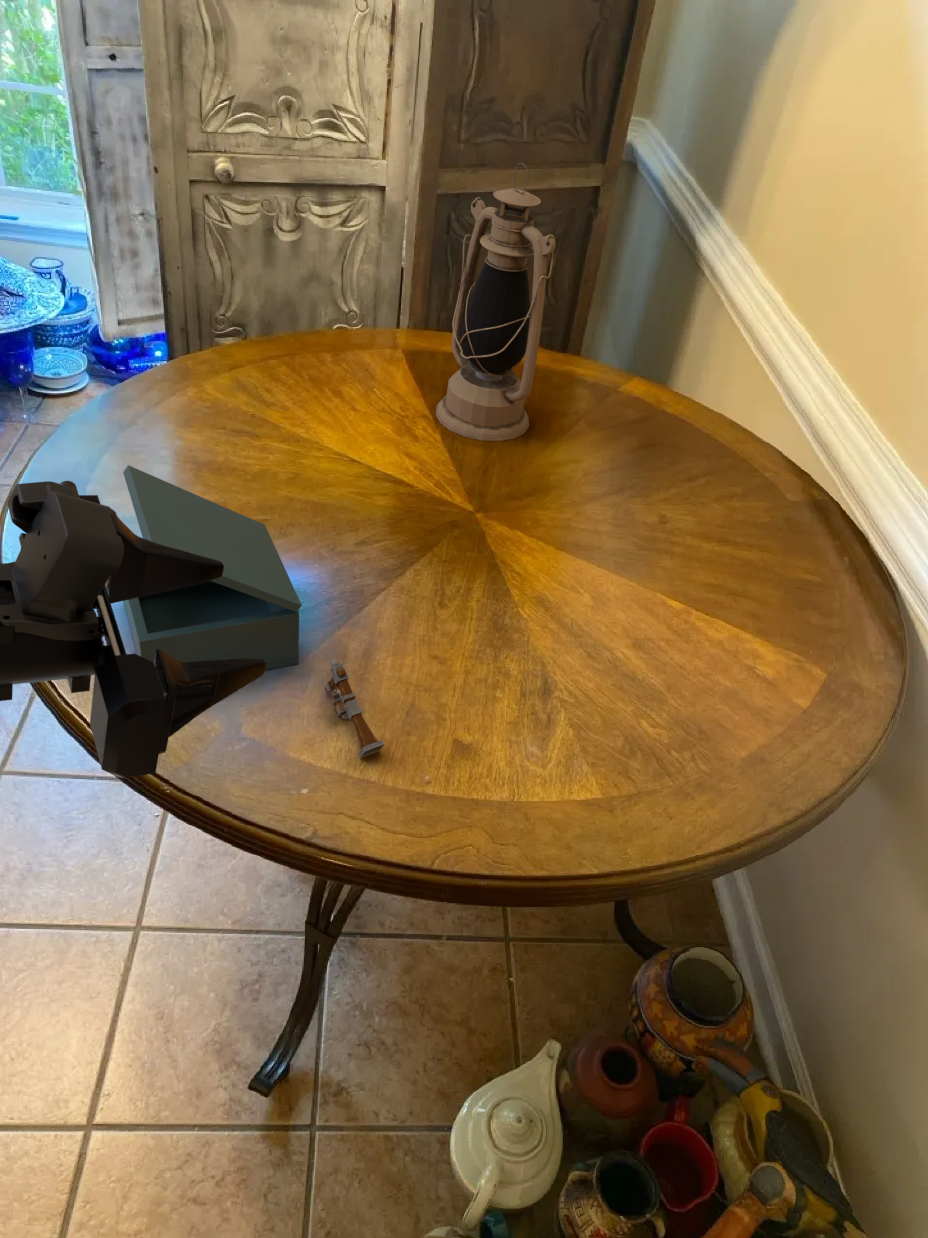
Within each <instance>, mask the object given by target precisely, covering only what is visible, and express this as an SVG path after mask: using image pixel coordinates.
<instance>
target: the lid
mask: <svg viewBox="0 0 928 1238" xmlns="http://www.w3.org/2000/svg"><path fill="white" fill-rule="evenodd" d="M123 477H124V481H125V483H126V486H127V490H128V493H129V496H130V500H131V503H132V507H133V510H134V513H135V516H136V520H137V524H138V527H139V530H140V533H141V538H144V539H146V540H149V541H152V542H155V543H158V544H161V545H164V546H168V547H171V548H175V549H179V550H182V551H186V552H189V553H193V554H197V555H200V556H204V557H207V558H211V559H215V560H218V561H221V562H222V563H223V565H224V570H223V575H222V576H221V577H220V578H216V579H213V580H210V581H212V582H215V583H218V584H221V585H223V586H226V587H229V588H232V589H234V590H237V591H240V592H243V593H245V594H248V595H251V596H253V597H256V598H259V599H262V600H264V601H267V602H270V603H273V604H275V605H278V606H281V607H284V608H286V609H289V610H292V611H294V612H297V611H298V612H299V610H300V609H301V607H303V605H302V602H301V601H300V598H299V596H298V594H297V592H296V589H295V587H294V584H293V583H292V580H291V578H290V576H289V574H288V571H287V569H286V568H285V566H284V563H283V561H282V558H281V557H280V555H279V553H278V550H277V548H276V546H275V544H274V541H273V539H272V537H271V535H270V533H269V530H268V528H267V526H266V525H265V524H264V523H262V522H259V521H257V520H255V519H253V518H250V517H249V516H246V515H244V514H241V513H239V512H237V511H234V510H232V509H230V508H228V507H226V506H223V505H221V504H219V503H216V502H213V501H212V500H209V499H207V498H205V497H202V496H200V495H198V494H196V493H193V492H191V491H188V490H186V489H184V488H182V487H180V486H177V485H175V484H172V483H170V482H168V481H166V480H164V479H161V478H159V477H156V476H154V475H153V474H149V473H148V472H145V471H143V470H141V469H138V468H136V467H133V466H131V465H129V464H127V466H126V467H125V468H124V470H123Z"/></svg>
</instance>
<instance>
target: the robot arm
mask: <svg viewBox="0 0 928 1238" xmlns="http://www.w3.org/2000/svg"><path fill="white" fill-rule="evenodd" d="M7 507H8V512H9V516H10V520H11V522H12V524H13V525H14V526H16V527H17V528H18V529H20V530H21V531H22V532H21V533H20V535H19V536H18V540H19V544H20V550H19V553H18V555H17V557H16V558H15V560H14V561H11V562H4V563H1V562H0V702H5V701H12V700H13V688H14V687H13V686H14V685H21V684H22V685H23V684H31V683H40V682H41V683H43V682H50V681H59V680H67V683H68V686H69V691H70V693H71V694H76V693H85V692H90V689H91V681H92V676H94V677H93V678H94V680H93V688H92V689H93V690H92V699H91V708H90V718H89V726H90V729H91V733H92V737H93V740H94V741H93V742H94V745H95V749H96V753H97V756H98V761H99V765H100V768H101V770H103V771H104V772H105V773H108V774H111V775H112V776H114V777H117V778H120V779H121V778H122V779H128V778H135V777H140V776H148V775H153V774H156V773H157V767H158V761H159V757H160V756H159V755H162V754H165V753H166V752H167V750H168V749H167V748H168V745H169V744H168V743H169V738H171V737H172V736H173V735H175V734H176V733H178V731H180V730H181V729H183V728H185V726H186V725H188V724H189V723H190V722H192V721H193V720H195V719H196V718H197V717H198V716H199V715H201V714H203V713H204V712H206V711H207V710H209V709H211V708H212V707H213V706H215V705H217V704H218V703H220V702H222V701H223V700H225V699H226V698H228V697H230V696H232V695H233V694H235V693H236V692H238V691H239V690H241V689H243V688H244V687H246V686H247V685H249V684H251V683H252V682H254V681H256V680H257V679H259V678H261V677H263V675H265V673H266V670H265V669H266V666H267V663H266V661H265V660H264V659H259V658H235V659H222V660H208V661H194V662H181V661H178V660H177V659H175V658H173V657H172V656H170V655H168V654H167V653H165V652H163V651H162V650H160V649H156V653H155V659H154V663H153V662H152V661H150V660H148V659H145V658H143V657H141V656H139V655H137V654H136V653H127V650H126V648H125V645H124V642H123V639H122V636H121V632H120V629H119V626H118V621H117V619H116V616H115V612H114V609H113V607H112V604H115V603H121V602H123V601H125V600H130V599H134V598H139V597H143V596H147V595H152V594H156V593H161V592H165V591H170V590H174V589H179V588H183V587H188V586H192V585H197V584H201V583H204V582H207V581H210V580H213V579H216V578H220V577H221V576H222V575H223V570H224V565H223V563H222V562H221V561H218V560H215V559H211V558H207V557H204V556H200V555H197V554H193V553H189V552H186V551H182V550H179V549H175V548H171V547H168V546H164V545H161V544H158V543H155V542H152V541H149V540H146V539H144V538H143V537H142V536H141V537H140V536H138V535H137V534H135V533H134V532H133V531H132V530H131V529H130V528H129V527H128V526H127V525H126V524H125V523H124V522H123V521H122V520H121V519H120V517H119V516H118V514H117V512H116V511H115V510H114V509H113V508H111V507H110V506H108V505H105V504H101V501H100V498H99V495H98V494H79V491H78V488H77V484H76V483H75V482H73V481H71V480H64V481H61V482H60V483H59V482H56V481H50V480H49V481H36V482H24V483H17V484H15V486H14V488H13V490H12V492H11V494H10V496H9V498H8V499H7ZM103 637H104V640H103ZM104 641H105V642H104ZM104 643H105V644H104Z"/></svg>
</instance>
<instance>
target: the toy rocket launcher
mask: <svg viewBox="0 0 928 1238" xmlns="http://www.w3.org/2000/svg"><path fill="white" fill-rule="evenodd" d="M330 667H331V668H330V669H329V672H330V673H331V678H330V680H329V681H327V682H326V683H325V686H324V690H325V692H326V694H329V693H333V694H334V695H333V697H332V699H334V701H333V703H332V704H331V706H332V707H335V710H336V713H337V717H341V719H342V720H345V721H346V720H348V719H349V720H351V722H352V725H353V727H354V729H355V733H356V736H357V739H358V742H359V745H360V751H359V752H358V753H357V755H358V759H361V758H365V757H367V756H369V755H373V754H375V753H377V752H380V751H381V750H382V749H383V747H384V746H385V745H386V743H385V742H384V740H383V739H380V740H378V739H377V738H376V736H375V735H374V733H373V732H372V730H371V728H370V727H369V724H368V723H367V721H366V720H365V717H364V715H363V713H364V712H363V711H364V710H363V709H362V707H361V705H360V703H359V699H358V698H356V697H357V695H356V692H353V689H352V687H351V684H350V682H349V679H350V677H349V675H348V674H347V671H346V668H345V665H344V663H343V662H342V663H340V662H339V660H337V659H333V660H331V661H330ZM338 691H339V692H338Z"/></svg>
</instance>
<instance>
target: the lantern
mask: <svg viewBox="0 0 928 1238" xmlns="http://www.w3.org/2000/svg"><path fill="white" fill-rule="evenodd" d="M519 165H522V166H524V167H525V168H526V171H527V175H526V176H527V177H526V181H525V185H524V189H520V188H516V175H517V168H518V166H519ZM529 175H530V173H529V168H528V166H527V164H525V163H522V162H519V163H517V164H516V166H515V170H514V178H513V188H507V189H499V190H495V191H494V192H492V193H493V194H492V195H493V197H494V198H495V199H496V200H497V201H499V202H501V204H500V205H501V206H500V208H497V207H494V206H486V204H485V202H484V201H483V200H482V198H481V196H477V197H475V199H474V200H473V201H472V202H471V205H470V212H471V215H472V216H473V218H474V220H475V223H474V228H473V231H472V234H469V233H468V234H465V236H464V238H463V245H462V263H461V265H462V266H461V270H462V271H461V279H460V285H459V291H458V295H457V301H456V304H455V309H454V314H453V318H452V326H451V327H452V335H451V336H452V337H451V351H452V354H453V356H454V359H455V361H456V362H457V364H458V366H460V368H459V369H458V370H457V371H456V372H455V373H453V374H452V375H451V377H449V378H448V381H447V390H446V395H445V396H444V397H443V398H442V399H441V400H440V401H439V402H438V403H437V404H436V406H435V416H436V418H437V419H438V421H439V423H440V424H441V425H442V426H443V427H445V428H446V429H447V430H449V431H450V432H452V433H455V434H457V435H460V436H461V437H464V438H468V439H472V440H477V441H482V442H503V441H509V440H514V439H516V438H519V437H520V436H522V435H524V434H525V433H526V431H527V430H528V429H529V427H530V421H529V420H530V418H529V415H528V413H527V411H526V410H525V409H524V407H525V402H526V399H527V398H528V397H529V396H530V395H531V392H532V391H531V390H532V387H533V383H534V377H535V372H536V366H537V360H538V353H539V347H540V340H541V332H542V331H541V330H542V323H543V315H544V305H545V294H546V284H547V283H546V282H547V280H548V279H549V278H550V277H551V275H552V269H553V264H554V254H555V253H554V251H555V249H556V240H555V239H556V238H555V235H553V234H548V235H544V236H543V233H542V232H541V231H540V230H539V229H538V228H537V227H535V226H534V223H535V217H534V216H533V215H532V214H530V208H532V207H537V206H538V205H539V204H541V203H542V202H541V201H542V200H541V199H540V198H539V197H538V196H536V195H534V194H532V193H530V192H528V191H526V188H527V184H528V180H529ZM509 205H510V206H509ZM521 207H522V208H521ZM490 223H491V228H490V233H487V234H486V232H487V229H488V227H489V224H490ZM467 237H469V238H471V239H470V242H469V246H468V251H467V255H466V259H465V251H466V250H465V248H466V240H467ZM482 247H484V248H485V249H486V250H487V256H485V258H484V261H485V262H484V264H483V267H482V268H481V271H480V273H479V275H478V278H477V280H476V281H475V275H476V271H477V266H478V262H479V258H480V253H481V250H482ZM550 254H551V261H550V266H549V272H548V275H547V267H548V266H547V265H548V263H547V259H548V255H550ZM531 256H533V280H532V292H531V294H532V295H531V299H530V282H529V273H528V269H529V263H528V259H529V257H531ZM474 281H475V282H474ZM473 287H474V288H473ZM523 359H524V361H523V368H522V374H521V378H519V377H518V375H517V374H516V373H515V372H514V370H515V369H517V367H519V366H520V365H521V363H522V360H523Z"/></svg>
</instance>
